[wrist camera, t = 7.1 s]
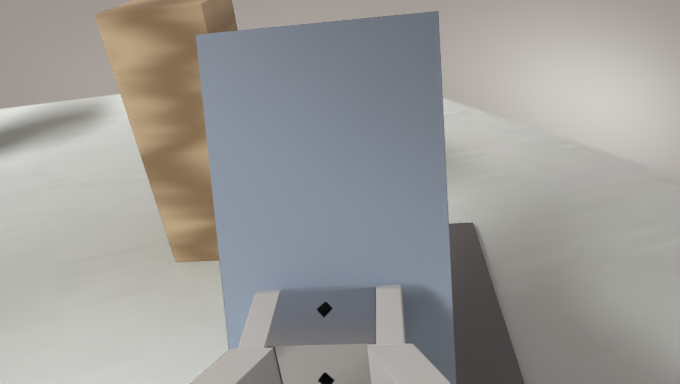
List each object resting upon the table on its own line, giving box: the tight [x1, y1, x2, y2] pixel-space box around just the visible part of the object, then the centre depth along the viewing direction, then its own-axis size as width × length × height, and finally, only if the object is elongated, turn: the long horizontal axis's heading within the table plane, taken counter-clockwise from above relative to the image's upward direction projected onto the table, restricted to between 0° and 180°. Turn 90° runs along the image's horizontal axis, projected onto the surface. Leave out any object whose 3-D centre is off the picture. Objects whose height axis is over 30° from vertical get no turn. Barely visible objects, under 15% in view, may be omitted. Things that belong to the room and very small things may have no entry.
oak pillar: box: [95, 0, 238, 262], centre depth 28 cm, size 5×5×14 cm
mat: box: [449, 223, 524, 384], centre depth 24 cm, size 12×14×1 cm
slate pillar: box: [196, 11, 456, 384], centre depth 13 cm, size 5×5×14 cm
